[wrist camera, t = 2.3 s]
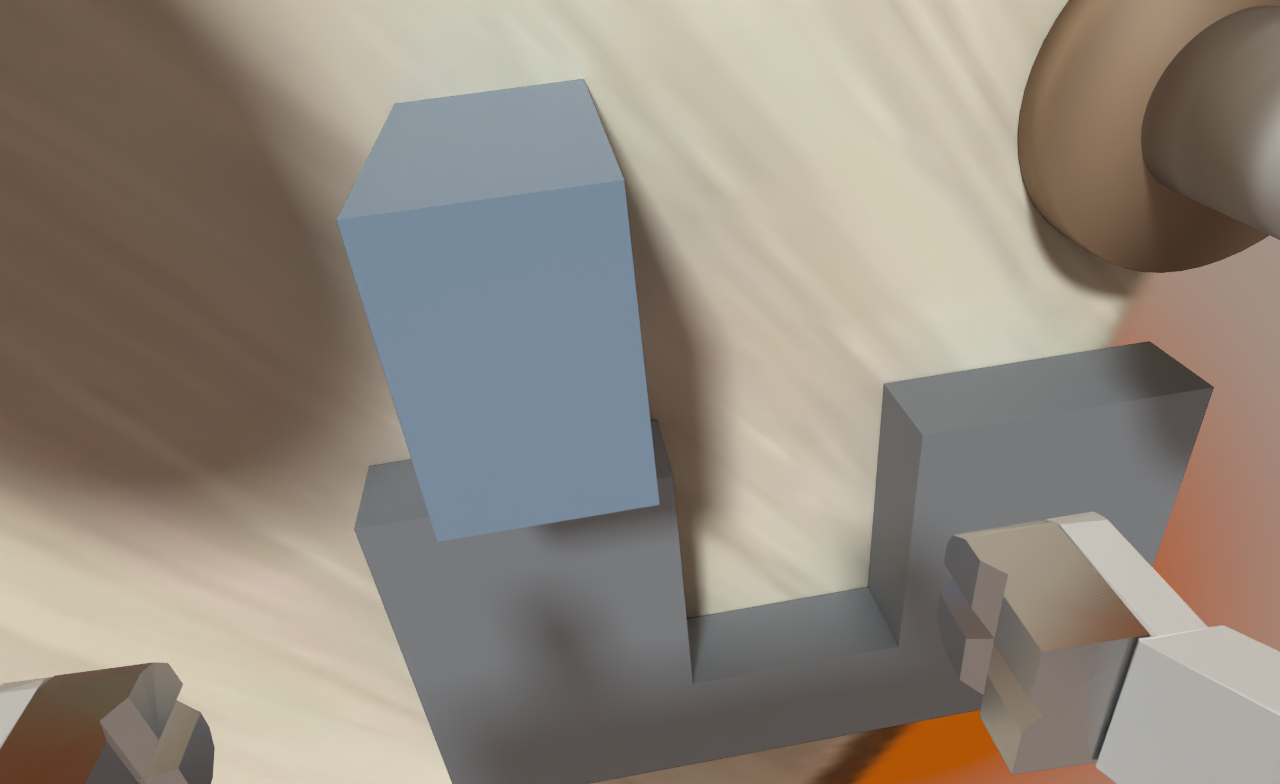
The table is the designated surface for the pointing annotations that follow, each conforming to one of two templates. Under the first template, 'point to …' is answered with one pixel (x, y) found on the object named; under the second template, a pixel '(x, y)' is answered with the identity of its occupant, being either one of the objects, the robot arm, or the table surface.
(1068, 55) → the bobbin post
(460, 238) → the blue-gray rectangular block
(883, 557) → the notched board
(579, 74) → the table surface
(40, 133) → the table surface
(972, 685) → the robot arm
